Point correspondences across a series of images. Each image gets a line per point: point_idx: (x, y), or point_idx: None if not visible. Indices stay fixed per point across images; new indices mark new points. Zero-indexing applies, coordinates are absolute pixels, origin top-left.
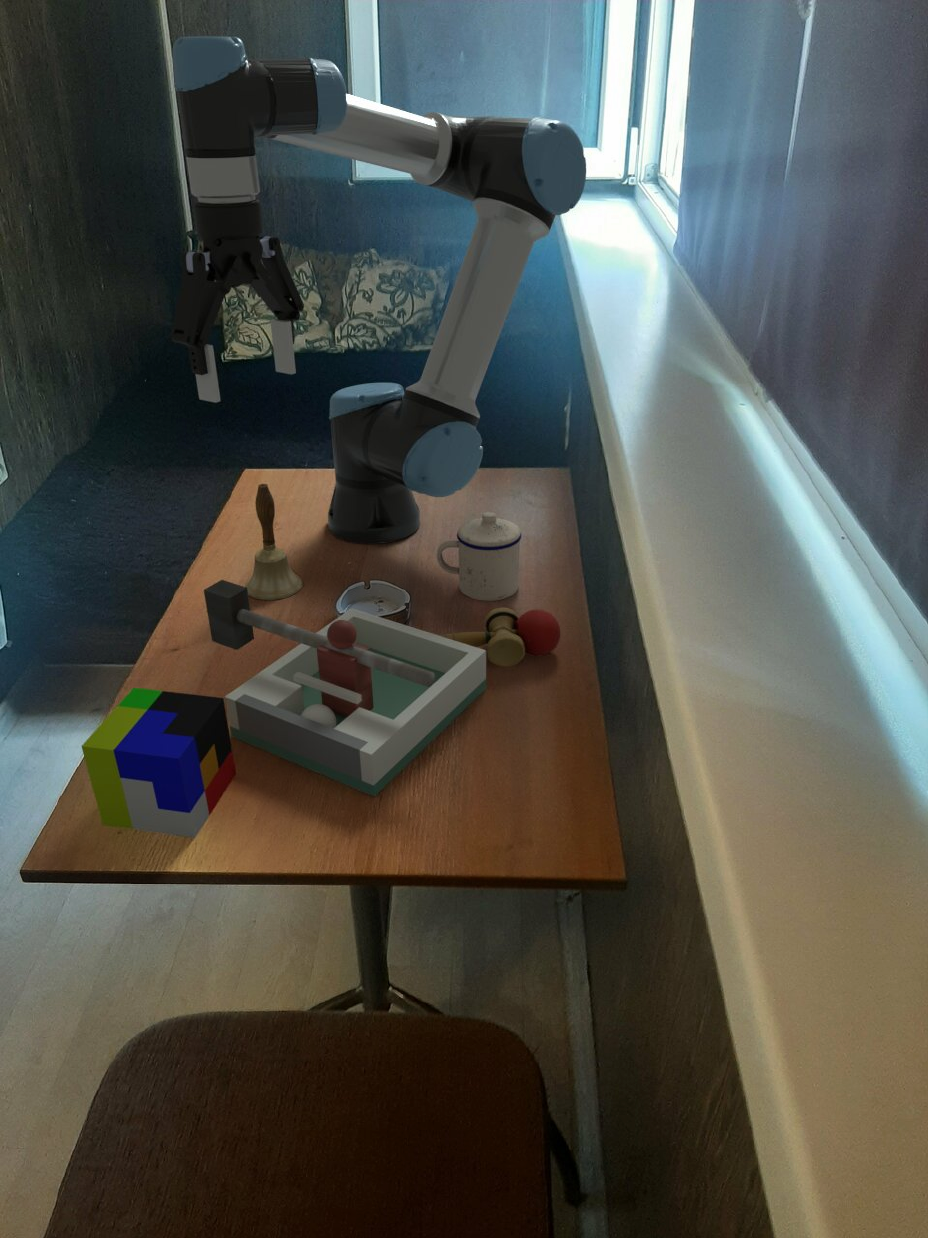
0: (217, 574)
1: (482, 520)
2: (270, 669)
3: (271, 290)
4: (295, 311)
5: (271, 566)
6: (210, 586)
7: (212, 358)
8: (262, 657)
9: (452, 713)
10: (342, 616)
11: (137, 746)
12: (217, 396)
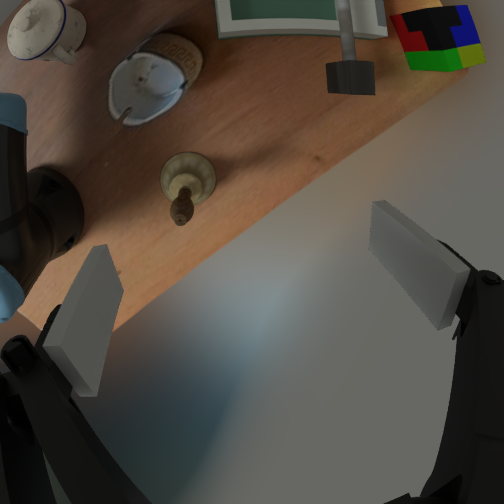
0: (207, 237)
1: (30, 29)
2: None
3: (96, 478)
4: (11, 366)
5: (196, 174)
6: (367, 94)
7: (440, 250)
8: (284, 89)
9: None
10: (239, 28)
11: (473, 32)
12: (385, 205)
